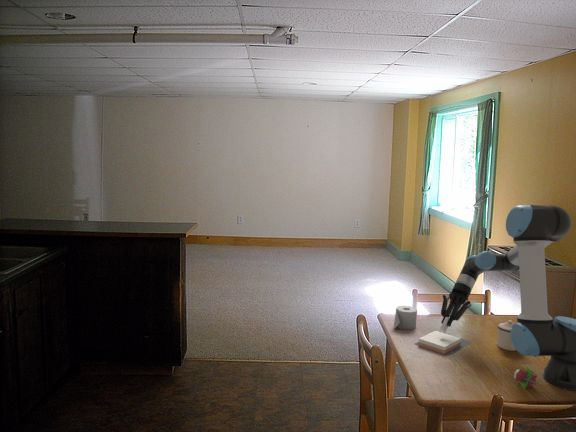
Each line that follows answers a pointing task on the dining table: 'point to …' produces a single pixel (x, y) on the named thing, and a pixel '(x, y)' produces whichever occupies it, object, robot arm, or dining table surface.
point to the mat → (463, 344)
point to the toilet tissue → (405, 317)
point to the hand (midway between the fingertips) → (442, 331)
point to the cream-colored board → (439, 342)
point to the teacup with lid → (505, 336)
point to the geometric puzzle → (525, 377)
